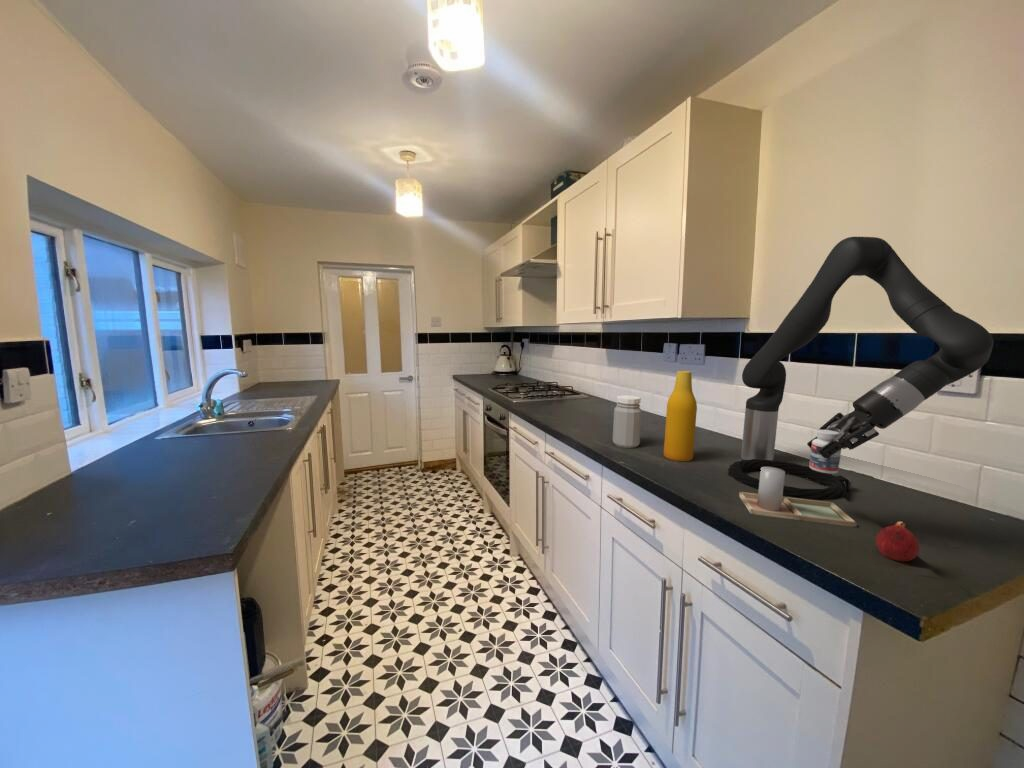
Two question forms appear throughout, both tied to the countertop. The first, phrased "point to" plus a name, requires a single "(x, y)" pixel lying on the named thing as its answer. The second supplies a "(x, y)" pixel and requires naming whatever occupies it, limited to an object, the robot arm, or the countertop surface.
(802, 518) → the divided tray
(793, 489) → the cable lock
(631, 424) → the jar
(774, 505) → the grey tube
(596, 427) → the countertop surface
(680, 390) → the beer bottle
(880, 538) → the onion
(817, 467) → the pill bottle
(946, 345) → the robot arm
